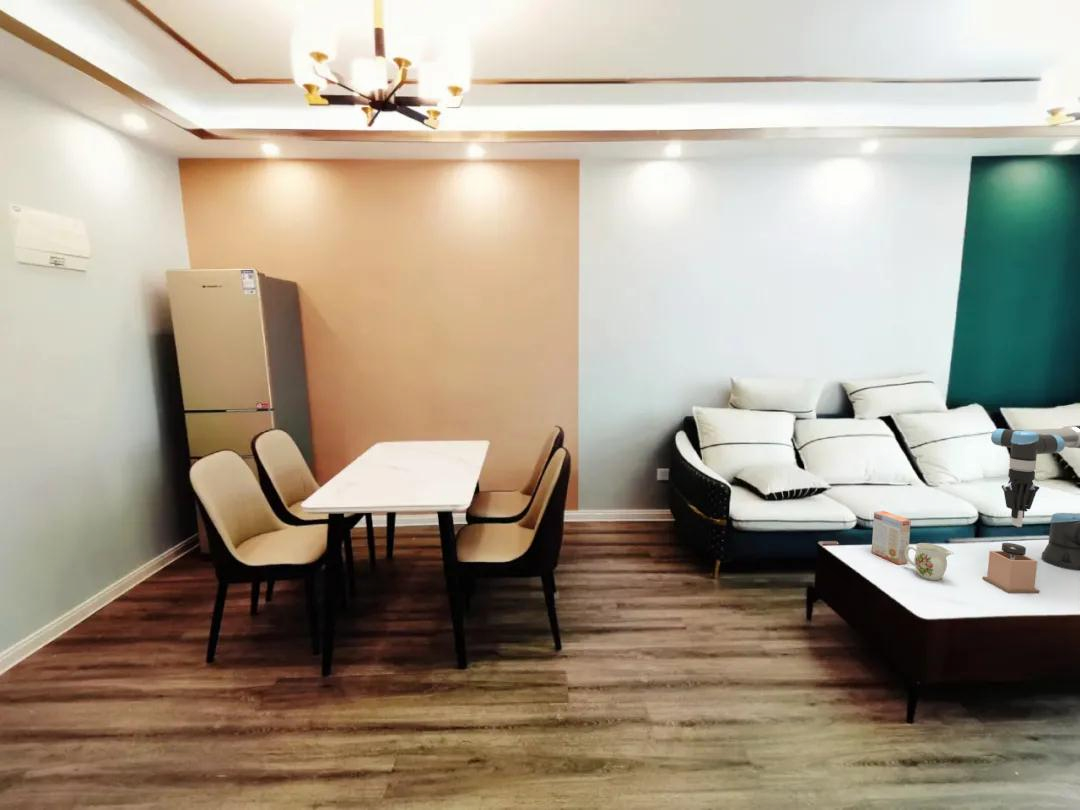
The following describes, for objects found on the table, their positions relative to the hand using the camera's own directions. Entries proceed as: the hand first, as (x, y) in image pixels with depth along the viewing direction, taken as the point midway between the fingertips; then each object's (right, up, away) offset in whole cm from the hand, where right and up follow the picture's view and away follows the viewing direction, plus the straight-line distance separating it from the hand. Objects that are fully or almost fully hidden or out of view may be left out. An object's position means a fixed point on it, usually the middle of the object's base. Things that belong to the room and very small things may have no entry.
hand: (1016, 525), depth 198 cm
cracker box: (-30, -23, +31) cm, 49 cm away
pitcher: (-27, -25, +13) cm, 39 cm away
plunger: (0, -24, +3) cm, 24 cm away
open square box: (0, -26, +3) cm, 26 cm away
